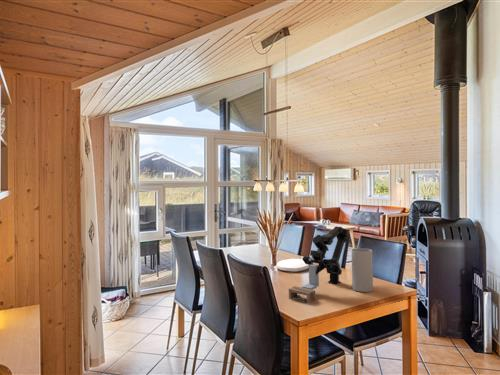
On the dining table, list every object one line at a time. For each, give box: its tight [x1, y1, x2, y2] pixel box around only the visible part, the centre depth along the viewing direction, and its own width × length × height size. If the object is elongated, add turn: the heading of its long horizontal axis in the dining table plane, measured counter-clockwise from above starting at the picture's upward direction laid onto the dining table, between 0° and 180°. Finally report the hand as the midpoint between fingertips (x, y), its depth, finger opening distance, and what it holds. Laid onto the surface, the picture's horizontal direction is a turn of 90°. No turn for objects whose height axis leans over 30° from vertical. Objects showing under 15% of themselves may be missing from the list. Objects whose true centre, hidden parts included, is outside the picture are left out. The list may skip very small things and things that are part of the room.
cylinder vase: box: [350, 247, 374, 293], centre depth 213 cm, size 12×12×25 cm
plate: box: [276, 258, 309, 273], centre depth 270 cm, size 28×6×27 cm
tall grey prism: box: [301, 263, 320, 290], centre depth 206 cm, size 11×6×13 cm, turn 139°
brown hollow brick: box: [288, 285, 317, 304], centre depth 198 cm, size 7×14×6 cm, turn 49°
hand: (312, 273), depth 207 cm, fingers closed on tall grey prism, 4 cm apart
